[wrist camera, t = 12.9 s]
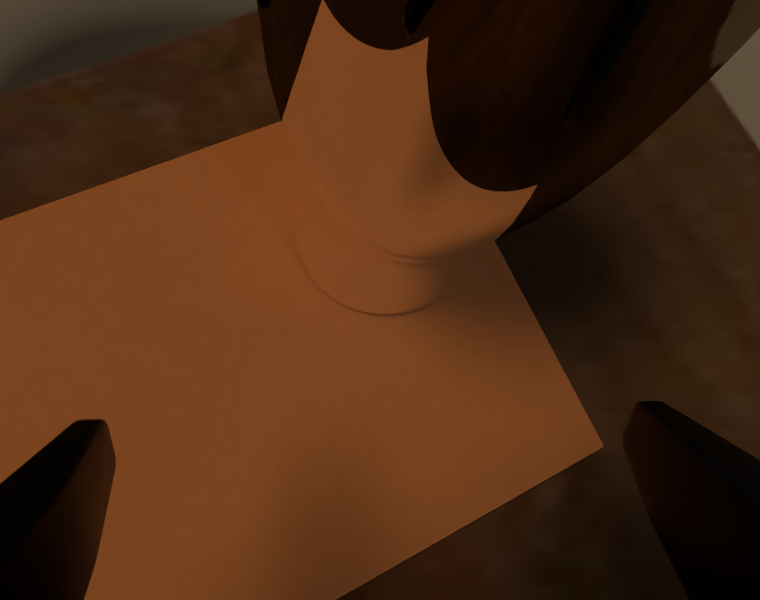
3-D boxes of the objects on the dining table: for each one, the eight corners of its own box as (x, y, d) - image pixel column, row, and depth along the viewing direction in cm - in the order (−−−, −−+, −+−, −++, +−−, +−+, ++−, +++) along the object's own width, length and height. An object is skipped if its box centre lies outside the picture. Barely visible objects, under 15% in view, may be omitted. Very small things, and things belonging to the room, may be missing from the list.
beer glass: (475, 145, 21) (879, -515, 6) (483, 330, 19) (1052, 24, 5) (283, 132, 20) (240, -683, 5) (276, 326, 18) (186, -75, 4)
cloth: (-11, 792, 15) (-19, 802, 14) (-176, 289, 17) (-187, 286, 17) (598, 446, 19) (604, 446, 19) (405, 82, 21) (407, 75, 21)
